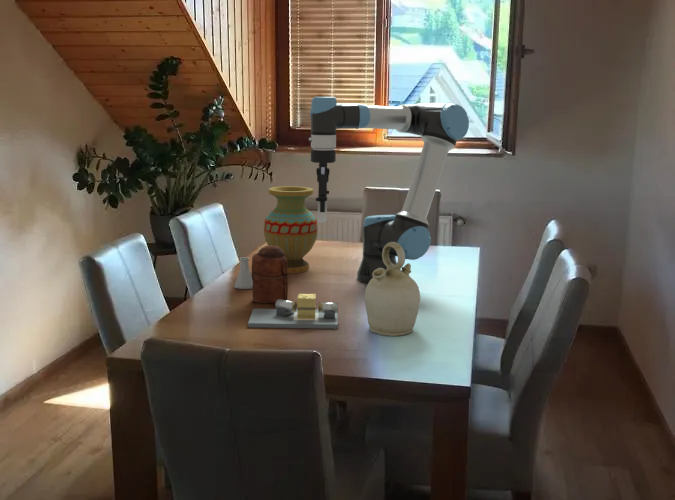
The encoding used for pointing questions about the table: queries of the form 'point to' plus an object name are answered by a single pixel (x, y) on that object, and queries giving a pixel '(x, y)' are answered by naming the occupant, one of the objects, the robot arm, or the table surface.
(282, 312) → the shaft
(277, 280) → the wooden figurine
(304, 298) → the block
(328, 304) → the shaft
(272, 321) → the base plate
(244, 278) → the flask
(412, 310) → the jug
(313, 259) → the table surface
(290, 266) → the vase
